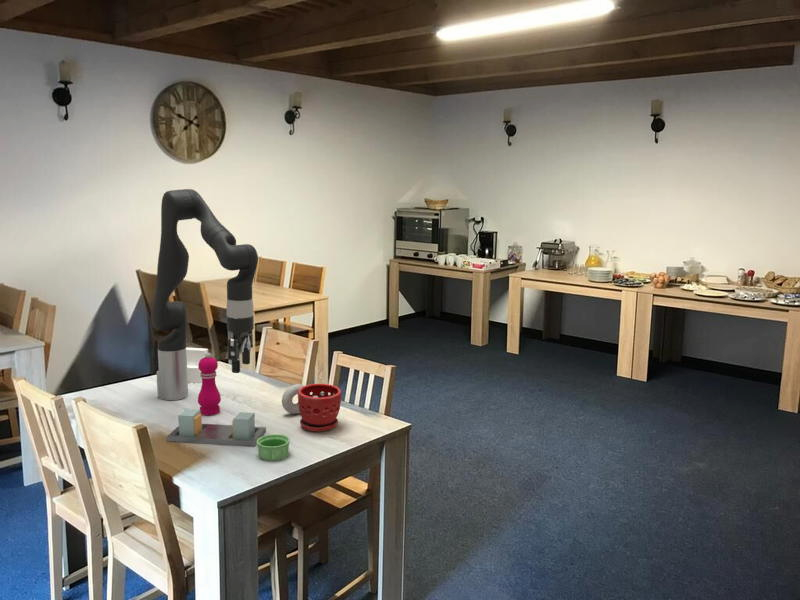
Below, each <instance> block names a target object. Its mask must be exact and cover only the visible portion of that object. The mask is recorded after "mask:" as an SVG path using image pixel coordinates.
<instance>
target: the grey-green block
mask: <svg viewBox="0 0 800 600" xmlns="http://www.w3.org/2000/svg"><path fill="white" fill-rule="evenodd" d="M255 415H256V414H255V412H245V411H243V412H242V411H240V412H239V413H238V414H236V415H235V417H234V418H232V425H233V439H247V440H250V439H251V438H252V436H253V435H254V434H255V427H256V425H255V424H256V422H255Z"/></svg>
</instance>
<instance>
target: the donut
mask: <svg viewBox="0 0 800 600" xmlns="http://www.w3.org/2000/svg"><path fill="white" fill-rule="evenodd" d="M304 386H305V385H303V384H301V383H295V384H291V385H290V386H289V387H287V388H286V389H285V391H284V392H283V394H282V397H281V405H282V407H283V409H284V411H285V412H286V413H288V414H291V415H298V414H300V411H299V406H298V402H296V403H294V402H293V399H294V397H295V396H298V391H299V389H300V388H302V387H304Z"/></svg>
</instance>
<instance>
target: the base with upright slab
mask: <svg viewBox="0 0 800 600" xmlns="http://www.w3.org/2000/svg"><path fill="white" fill-rule="evenodd" d="M206 353H209V349H208V348H201V347H200V348H199V347H187V346H186V355H187V377H188V384H190V383H193V385H196V384H195V383H198V384H202V378H201V377H200V376H201V374H200V373H201V371H200V370H199V368H198V364H199V361H200V360H201V359H202V358H205V354H206Z"/></svg>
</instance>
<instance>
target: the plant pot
mask: <svg viewBox="0 0 800 600" xmlns="http://www.w3.org/2000/svg"><path fill="white" fill-rule="evenodd" d="M321 393H324V394H323V395H322V394H321ZM329 394H330V395H329ZM341 402H342V390H341V388H339V387H338V386H336V385H332V384H328V383H312V384H307V385H304V387H302V388H300V389H299V391H298V394H297V403H298V406H299V411H300V413H299V414H300V416H301V419H300V420H299V423H300V426H301V427H302V428H303V429H305V430H307V431H311V432H315V431H316V432H319V433H321V431H322V432H327V430H328V431H330V430H333V429H334V428H335V427H336V426H337V425H338V423H339V420H338V418H337V417H338V415H339V413H340V409H341ZM316 432H315V433H316Z"/></svg>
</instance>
